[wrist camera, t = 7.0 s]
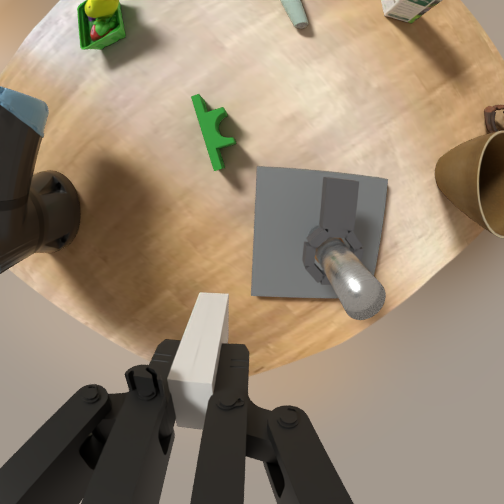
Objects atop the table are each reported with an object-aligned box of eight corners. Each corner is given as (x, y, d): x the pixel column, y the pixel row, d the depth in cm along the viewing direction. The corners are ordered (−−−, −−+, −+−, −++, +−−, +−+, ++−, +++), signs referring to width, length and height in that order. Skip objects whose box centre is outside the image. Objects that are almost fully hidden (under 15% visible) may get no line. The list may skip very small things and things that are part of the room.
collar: (300, 277, 38) (302, 284, 36) (309, 175, 34) (312, 176, 32) (353, 279, 38) (357, 285, 36) (366, 181, 34) (372, 183, 32)
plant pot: (485, 185, 41) (543, 200, 26) (440, 229, 44) (496, 259, 29) (453, 117, 37) (514, 112, 22) (402, 160, 41) (462, 166, 25)
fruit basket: (89, 15, 32) (58, -7, 21) (131, -7, 31) (106, -35, 20) (95, 58, 35) (59, 41, 25) (140, 36, 35) (111, 10, 24)
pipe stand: (251, 290, 48) (251, 295, 46) (257, 166, 42) (257, 166, 40) (365, 293, 48) (369, 298, 46) (382, 178, 42) (387, 179, 40)
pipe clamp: (242, 162, 42) (240, 163, 37) (218, 169, 42) (214, 171, 38) (220, 94, 38) (216, 87, 34) (197, 102, 39) (190, 96, 34)
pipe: (304, 251, 44) (338, 322, 25) (307, 223, 42) (346, 276, 23) (332, 252, 44) (381, 321, 25) (336, 224, 42) (392, 277, 23)
